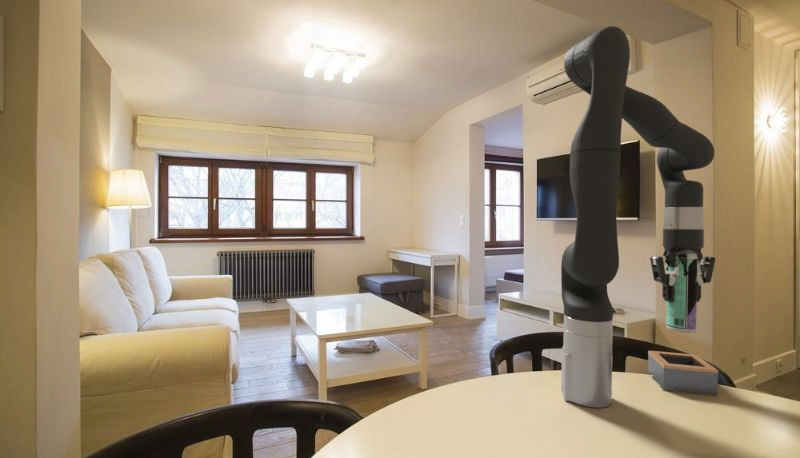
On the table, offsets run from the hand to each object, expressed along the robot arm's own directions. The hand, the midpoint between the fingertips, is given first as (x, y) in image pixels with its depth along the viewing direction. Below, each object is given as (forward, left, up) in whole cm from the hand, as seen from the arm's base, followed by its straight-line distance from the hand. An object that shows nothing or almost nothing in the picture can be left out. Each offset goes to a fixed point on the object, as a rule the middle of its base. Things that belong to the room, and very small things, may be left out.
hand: (681, 301), depth 87 cm
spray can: (0, 0, -7) cm, 7 cm away
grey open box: (0, 0, -19) cm, 19 cm away
